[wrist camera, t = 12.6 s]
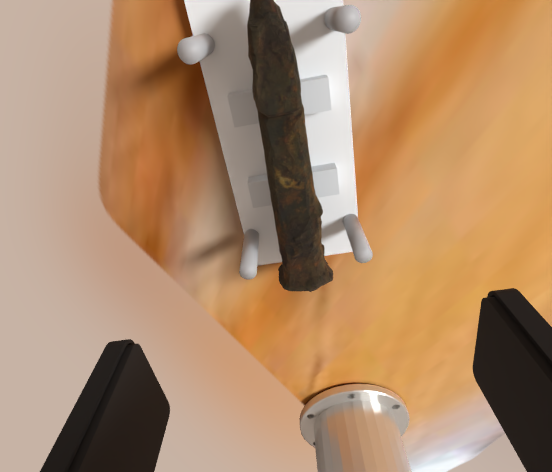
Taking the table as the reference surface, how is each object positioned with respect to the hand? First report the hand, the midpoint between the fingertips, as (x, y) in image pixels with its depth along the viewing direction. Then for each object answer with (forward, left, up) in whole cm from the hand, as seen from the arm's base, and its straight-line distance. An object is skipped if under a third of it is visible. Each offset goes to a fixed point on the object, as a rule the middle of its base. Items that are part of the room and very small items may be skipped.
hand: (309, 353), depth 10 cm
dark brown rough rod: (0, +1, -18) cm, 18 cm away
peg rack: (0, 0, -19) cm, 19 cm away
